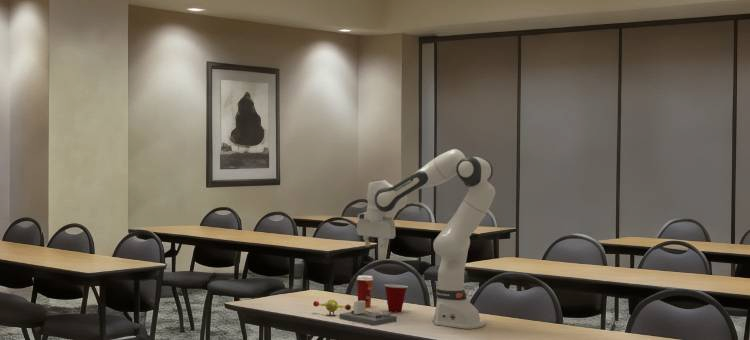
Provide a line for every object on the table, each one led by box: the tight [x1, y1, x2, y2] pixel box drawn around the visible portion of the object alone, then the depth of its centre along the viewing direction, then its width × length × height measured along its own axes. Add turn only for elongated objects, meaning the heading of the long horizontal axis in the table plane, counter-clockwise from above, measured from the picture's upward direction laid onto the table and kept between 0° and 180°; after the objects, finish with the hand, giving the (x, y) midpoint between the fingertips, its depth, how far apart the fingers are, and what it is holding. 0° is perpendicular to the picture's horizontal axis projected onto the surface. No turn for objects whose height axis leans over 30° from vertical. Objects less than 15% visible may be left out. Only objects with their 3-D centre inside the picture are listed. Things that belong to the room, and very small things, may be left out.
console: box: [339, 309, 397, 326], centre depth 402 cm, size 20×14×4 cm
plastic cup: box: [383, 283, 409, 313], centre depth 425 cm, size 11×11×12 cm
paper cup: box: [356, 274, 374, 309], centre depth 435 cm, size 8×8×14 cm
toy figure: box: [313, 299, 352, 316], centre depth 411 cm, size 18×6×7 cm, turn 66°
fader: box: [353, 300, 366, 314], centre depth 404 cm, size 2×5×5 cm, turn 138°
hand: (375, 247), depth 419 cm, fingers open, 8 cm apart
